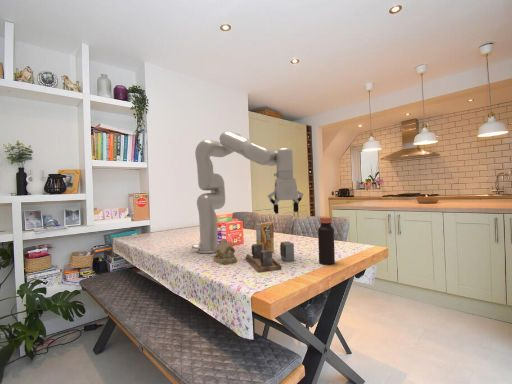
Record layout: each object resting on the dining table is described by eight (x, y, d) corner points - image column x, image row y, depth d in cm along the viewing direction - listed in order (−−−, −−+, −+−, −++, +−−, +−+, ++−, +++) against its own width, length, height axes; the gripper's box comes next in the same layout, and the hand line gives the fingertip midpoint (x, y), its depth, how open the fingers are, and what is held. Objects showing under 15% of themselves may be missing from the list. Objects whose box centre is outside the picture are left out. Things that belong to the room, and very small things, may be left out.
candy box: (269, 250, 145) (268, 221, 145) (274, 251, 142) (273, 222, 142) (256, 253, 140) (255, 223, 139) (261, 254, 137) (260, 224, 136)
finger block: (285, 262, 123) (284, 244, 122) (280, 259, 128) (279, 242, 128) (294, 261, 124) (293, 243, 124) (288, 257, 130) (288, 241, 129)
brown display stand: (258, 272, 109) (257, 254, 109) (245, 259, 129) (245, 244, 128) (281, 269, 112) (280, 251, 112) (265, 257, 131) (265, 242, 131)
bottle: (327, 266, 115) (326, 219, 114) (315, 262, 120) (314, 217, 120) (338, 262, 119) (337, 217, 118) (325, 259, 124) (324, 216, 124)
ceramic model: (209, 259, 133) (209, 238, 132) (230, 255, 138) (230, 235, 138) (220, 266, 120) (219, 243, 120) (243, 262, 126) (242, 240, 125)
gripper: (270, 175, 119) (271, 214, 119) (305, 174, 124) (307, 212, 124) (264, 176, 126) (265, 213, 127) (298, 175, 131) (299, 210, 132)
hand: (286, 212), depth 125 cm, fingers open, 9 cm apart
